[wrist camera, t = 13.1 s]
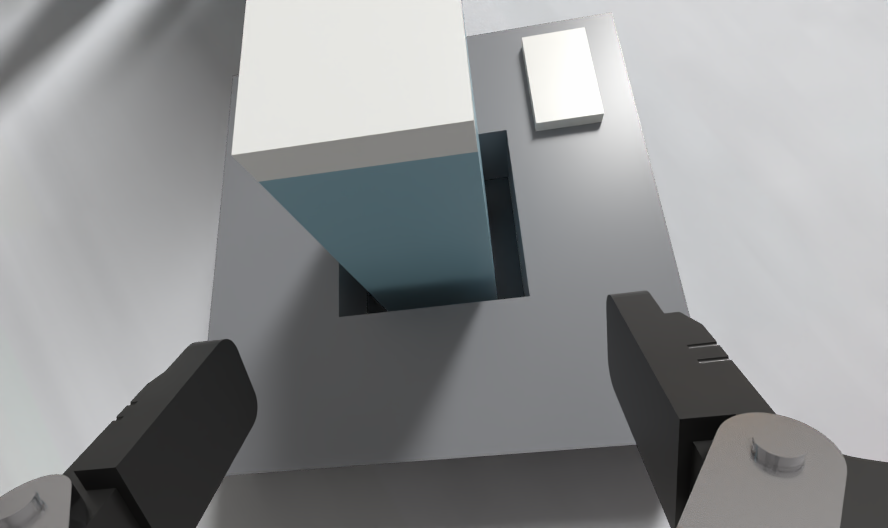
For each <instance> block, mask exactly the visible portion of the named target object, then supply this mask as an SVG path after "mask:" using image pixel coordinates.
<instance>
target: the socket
mask: <svg viewBox="0 0 888 528" xmlns="http://www.w3.org/2000/svg"><path fill="white" fill-rule="evenodd" d="M466 38H467V46H468V55H469V63H470V71H471V79H472V87H473V95H474V103H475V111H476V119H477V127H478V135H479V143H480V151H481V159H482V167H483V175H484V180H488V179H496V178H503V177H508V180H509V187H510V195H511V202H512V209H513V217H514V224H515V231H516V239H517V246H518V253H519V260H520V268H521V275H522V282H523V290H524V297H518V298H509V299H500V300H491V301H482V302H473V303H464V304H454V305H445V306H436V307H427V308H418V309H409V310H400V311H390V312H381V313H372V314H367V290H366V289H365V288H364V287H363V286H362V285H361V284H360V283H359V282H358V281H357V280H356V279H355V278H354V277H353V276H352V275H351V274H350V273H349V272H348V271H347V270H346V269H345V268H344V267H343V266H342V265H341V264H340V263H339V262H338V261H337V260H336V259H335V258H334V257H333V256H332V255H331V254H330V253H329V252H328V251H327V250H326V249H325V248H324V247H323V246H322V245H321V244H320V243H319V242H318V241H317V240H316V239H315V238H314V237H313V236H312V235H311V234H310V233H309V232H308V231H307V230H306V229H305V228H304V227H303V226H302V225H301V224H300V223H299V222H298V221H297V220H296V219H295V218H294V217H293V216H292V215H291V214H290V213H289V212H288V211H287V210H286V209H285V208H284V207H283V206H282V205H281V204H280V203H279V202H278V201H277V200H276V199H275V198H274V197H273V196H272V195H271V194H270V193H269V192H268V191H267V190H266V189H265V188H264V187H263V186H262V185H261V184H260V183H259V182H258V181H257V180H256V179H255V178H254V177H253V176H252V175H251V174H250V173H249V172H248V171H247V170H246V169H245V168H244V167H243V166H242V165H241V164H240V163H239V162H238V161H237V160H236V159H235V158H234V157H233V156H232V155H231V154H232V143H233V133H234V123H235V112H236V102H237V91H238V81H239V75H234V76H233V82H232V92H231V103H230V113H229V123H228V134H227V144H226V155H225V165H224V176H223V186H222V197H221V207H220V218H219V228H218V239H217V249H216V260H215V270H214V281H213V291H212V301H211V312H210V322H209V333H208V341H212V340H220V339H229V340H231V341H233V342H234V344H235V345H236V347H237V349H238V351H239V354H240V356H241V359H242V361H243V364H244V366H245V369H246V371H247V374H248V376H249V379H250V381H251V384H252V386H253V389H254V391H255V394H256V397H257V405H258V409H257V417H256V420H255V423H254V425H253V427H252V429H251V430H250V432H249V434H248V436H247V437H246V439H245V441H244V443H243V445H242V446H241V448H240V450H239V452H238V453H237V455H236V457H235V459H234V461H233V462H232V464H231V466H230V468H229V470H228V471H227V473H226V475H225V476H228V475H241V474H254V473H267V472H280V471H294V470H307V469H320V468H333V467H346V466H360V465H373V464H386V463H399V462H412V461H425V460H439V459H452V458H465V457H478V456H491V455H505V454H518V453H531V452H544V451H557V450H570V449H584V448H597V447H610V446H623V445H636V442H635V440H634V437H633V435H632V433H631V430H630V428H629V425H628V423H627V420H626V418H625V416H624V413H623V411H622V408H621V406H620V404H619V401H618V399H617V396H616V394H615V391H614V389H613V386H612V382H611V378H610V373H609V366H608V351H607V319H606V300H607V296H608V295H610V294H618V293H627V292H635V291H644V290H647V291H648V292H649V293H650V294H651V296H652V297H653V298H654V300H655V301H656V303H657V304H658V305H659V307H660V308H661V310H662V311H663V312H664V313H672V312H681V313H683V314H685V315H686V316H688V317H690V315H689V311H688V308H687V304H686V300H685V296H684V292H683V288H682V284H681V280H680V276H679V272H678V268H677V265H676V261H675V257H674V253H673V249H672V245H671V241H670V237H669V233H668V229H667V226H666V222H665V218H664V214H663V210H662V206H661V202H660V198H659V194H658V190H657V186H656V183H655V179H654V175H653V171H652V167H651V163H650V159H649V155H648V151H647V147H646V144H645V140H644V136H643V132H642V128H641V124H640V120H639V116H638V112H637V108H636V104H635V101H634V97H633V93H632V89H631V85H630V81H629V77H628V73H627V69H626V65H625V61H624V58H623V54H622V50H621V46H620V42H619V38H618V34H617V30H616V26H615V22H614V19H613V15H612V12H611V13H605V14H599V15H593V16H587V17H581V18H575V19H569V20H563V21H557V22H551V23H545V24H539V25H533V26H527V27H521V28H515V29H509V30H503V31H497V32H491V33H485V34H479V35H473V36H467V37H466Z"/></svg>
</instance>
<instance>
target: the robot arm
mask: <svg viewBox="0 0 888 528" xmlns="http://www.w3.org/2000/svg"><path fill="white" fill-rule="evenodd" d="M606 319H607V351H608V366H609V373H610V378H611V382H612V386H613V389H614V391H615V394H616V396H617V399H618V401H619V404H620V406H621V408H622V411H623V413H624V416H625V418H626V420H627V423H628V425H629V428H630V430H631V433H632V435H633V437H634V440H635V442H636V445H637V447H638V449H639V452H640V454H641V457H642V459H643V462H644V464H645V466H646V469H647V471H648V474H649V476H650V479H651V481H652V483H653V486H654V488H655V491H656V493H657V495H658V498H659V500H660V503H661V505H662V508H663V510H664V512H665V515H666V517H667V520H668V522H669V525H670V527H671V528H888V462H881V461H874V460H867V459H861V458H856V457H851V456H847V455H844V454H842V453H841V451H840V450H839V449H838V448H837V447H836V445H835V444H834V443H833V442H832V441H831V440H829V439H828V438H827V437H826V436H825V435H823V434H822V433H820V432H819V431H817V430H816V429H814V428H812V427H810V426H809V425H807V424H804V423H802V422H800V421H797V420H795V419H792V418H789V417H785V416H781V415H777V414H775V412H774V411H773V410H772V409H771V408H770V406H769V405H768V404H767V403H766V402H765V400H764V399H763V398H762V397H761V395H760V394H759V393H758V392H757V391H756V389H755V388H754V387H753V386H752V384H751V383H750V382H749V381H748V380H747V378H746V377H745V376H744V375H743V373H742V372H741V371H740V370H739V369H738V367H737V366H736V365H735V364H734V362H733V361H732V360H729V358H728V355H727V354H726V353H725V351H724V350H723V349H722V348H721V347H720V345H717V342H716V341H715V339H714V338H713V337H712V336H711V334H710V333H709V332H708V331H707V330H706V328H705V327H704V326H703V325H702V324H700V323H699V322H697V321H695V320H693V319H692V318H690V317H688V316H686V315H685V314H683V313H681V312H672V313H664V312H663V311H662V310H661V308H660V307H659V305H658V304H657V303H656V301H655V300H654V298H653V297H652V296H651V294H650V293H649V292H648V291H647V290H644V291H635V292H627V293H618V294H610V295H608V296H607V300H606ZM257 409H258V405H257V397H256V394H255V391H254V389H253V386H252V384H251V381H250V379H249V376H248V374H247V371H246V369H245V366H244V364H243V361H242V359H241V356H240V354H239V351H238V349H237V347H236V345H235V344H234V342H233V341H231V340H229V339H220V340H212V341H203V342H195V343H192V344H190V345H189V346H188V347H187V348H186V349H185V350H184V352H183V353H182V354H181V355H180V356H179V357H178V358H177V359H176V360H175V361H174V362H173V363H172V365H171V366H170V367H169V368H168V369H167V370H166V371H165V372H164V373H162V374H161V375H160V376H158V377H157V378H155V379H154V380H152V381H151V382H150V383H148V384H147V385H146V386H145V387H144V388H143V389H142V390H141V391H140V392H139V393H138V395H137V396H136V397H135V398H134V399H133V400H132V401H131V405H129V406H126V407H125V408H124V409H123V411H122V412H121V413H120V414H119V415H118V416H117V420H116V421H112V422H111V423H110V424H109V425H108V427H107V428H106V429H105V430H104V431H103V432H102V433H101V434H100V435H99V436H98V437H97V438H96V439H95V440H94V441H93V443H92V444H91V445H90V446H89V447H88V448H87V449H86V450H85V451H84V452H83V453H82V454H81V455H80V456H79V457H78V459H77V460H76V461H75V462H74V463H73V464H72V465H71V466H70V467H69V468H68V469H67V470H66V471H65V472H64V473H63V475H59V474H55V475H48V476H43V477H40V478H37V479H34V480H31V481H29V482H27V483H24V484H22V485H20V486H18V487H16V488H14V489H13V490H11V491H9V492H8V493H6V494H4V495H3V496H1V497H0V528H196V526H197V525H198V523H199V521H200V519H201V518H202V516H203V514H204V512H205V510H206V509H207V507H208V505H209V503H210V502H211V500H212V498H213V496H214V494H215V493H216V491H217V489H218V487H219V486H220V484H221V482H222V480H223V478H224V477H225V475H226V473H227V471H228V470H229V468H230V466H231V464H232V462H233V461H234V459H235V457H236V455H237V453H238V452H239V450H240V448H241V446H242V445H243V443H244V441H245V439H246V437H247V436H248V434H249V432H250V430H251V429H252V427H253V425H254V423H255V420H256V417H257Z"/></svg>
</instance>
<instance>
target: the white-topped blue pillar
mask: <svg viewBox="0 0 888 528" xmlns="http://www.w3.org/2000/svg"><path fill="white" fill-rule="evenodd" d="M231 155H232V156H233V157H234V158H235V159H236V160H237V161H238V162H239V163H240V164H241V165H242V166H243V167H244V168H245V169H246V170H247V171H248V172H249V173H250V174H251V175H252V176H253V177H254V178H255V179H256V180H257V181H258V182H259V183H260V184H261V185H262V186H263V187H264V188H265V189H266V190H267V191H268V192H269V193H270V194H271V195H272V196H273V197H274V198H275V199H276V200H277V201H278V202H279V203H280V204H281V205H282V206H283V207H284V208H285V209H286V210H287V211H288V212H289V213H290V214H291V215H292V216H293V217H294V218H295V219H296V220H297V221H298V222H299V223H300V224H301V225H302V226H303V227H304V228H305V229H306V230H307V231H308V232H309V233H310V234H311V235H312V236H313V237H314V238H315V239H316V240H317V241H318V242H319V243H320V244H321V245H322V246H323V247H324V248H325V249H326V250H327V251H328V252H329V253H330V254H331V255H332V256H333V257H334V258H335V259H336V260H337V261H338V262H339V263H340V264H341V265H342V266H343V267H344V268H345V269H346V270H347V271H348V272H349V273H350V274H351V275H352V276H353V277H354V278H355V279H356V280H357V281H358V282H359V283H360V284H361V285H362V286H363V287H364V288H365V289H366V290H367V291H368V292H369V293H370V294H371V295H372V296H373V297H374V298H375V299H376V300H377V301H378V302H379V303H380V304H381V305H382V306H383V307H384V308H385V309H386V310H387V311H388V312H390V311H400V310H409V309H418V308H427V307H436V306H445V305H454V304H464V303H473V302H482V301H491V300H498V298H497V289H496V280H495V271H494V262H493V253H492V244H491V235H490V226H489V217H488V208H487V199H486V191H485V183H484V175H483V167H482V159H481V151H480V143H479V135H478V127H477V119H476V111H475V103H474V95H473V87H472V79H471V71H470V63H469V55H468V46H467V38H466V30H465V22H464V14H463V6H462V0H246V8H245V19H244V29H243V39H242V50H241V60H240V71H239V81H238V91H237V102H236V112H235V123H234V133H233V143H232V154H231Z"/></svg>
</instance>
